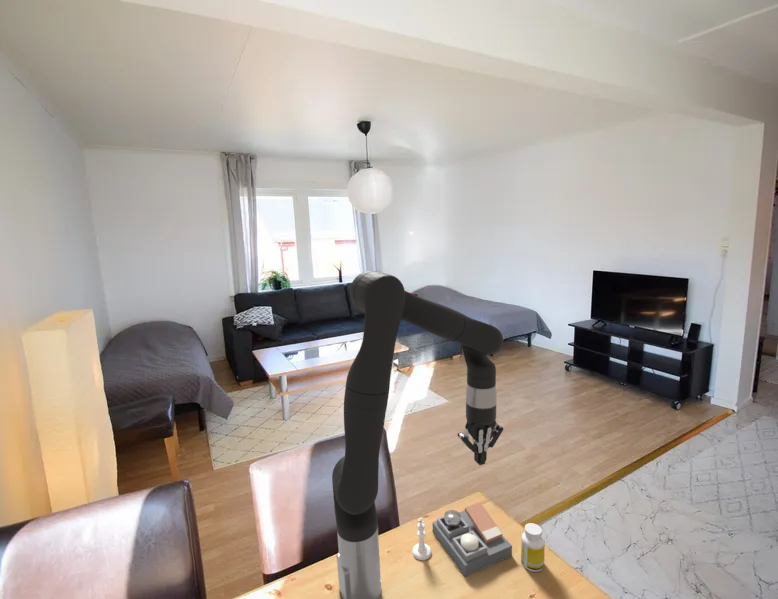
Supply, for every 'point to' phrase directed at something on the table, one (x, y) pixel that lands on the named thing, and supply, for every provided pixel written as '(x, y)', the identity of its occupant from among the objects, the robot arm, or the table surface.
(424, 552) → the chess piece
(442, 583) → the table surface
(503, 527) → the table surface
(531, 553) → the supplement bottle
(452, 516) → the metal button
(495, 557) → the panel
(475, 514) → the rocker
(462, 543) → the white button
